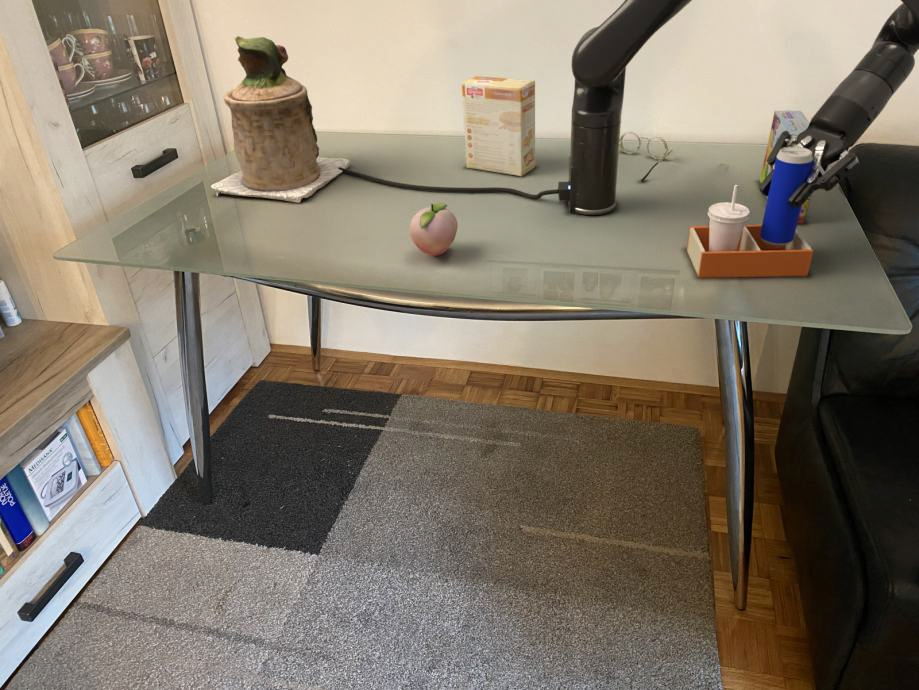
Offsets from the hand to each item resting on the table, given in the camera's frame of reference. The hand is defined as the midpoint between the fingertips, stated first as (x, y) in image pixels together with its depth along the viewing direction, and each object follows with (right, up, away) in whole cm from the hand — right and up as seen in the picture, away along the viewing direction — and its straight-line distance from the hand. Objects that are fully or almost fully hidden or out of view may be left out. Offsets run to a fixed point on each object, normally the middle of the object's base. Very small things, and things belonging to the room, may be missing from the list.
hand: (777, 199), depth 109 cm
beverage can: (+2, -6, +5) cm, 8 cm away
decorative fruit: (-55, -7, +17) cm, 58 cm away
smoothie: (-6, -9, +8) cm, 14 cm away
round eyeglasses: (-12, +18, +48) cm, 53 cm away
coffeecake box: (-41, +18, +52) cm, 68 cm away
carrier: (-2, -9, +8) cm, 12 cm away
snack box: (+13, +5, +27) cm, 30 cm away
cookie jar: (-92, +16, +53) cm, 107 cm away
